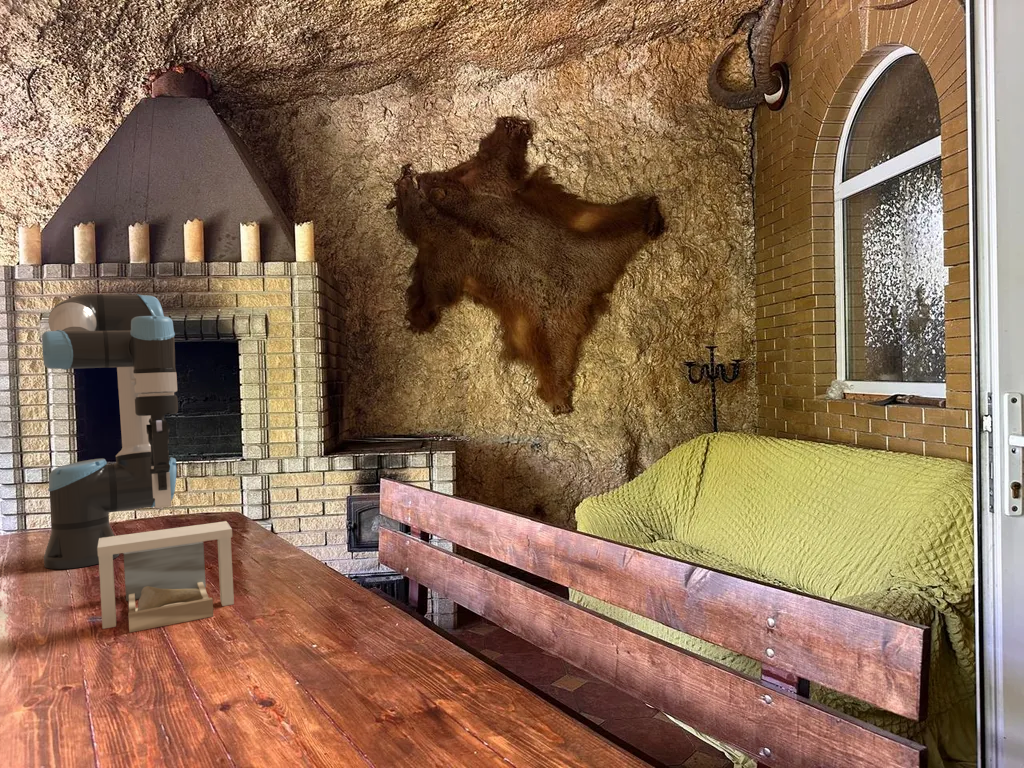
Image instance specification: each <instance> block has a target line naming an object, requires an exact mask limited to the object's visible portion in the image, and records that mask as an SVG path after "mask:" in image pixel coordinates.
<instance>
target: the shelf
mask: <svg viewBox="0 0 1024 768" xmlns="http://www.w3.org/2000/svg"><path fill="white" fill-rule="evenodd" d="M231 538H233V528H232V527H231V526H230V524H229V522H227V521H226V520H224V521H218V522H210V523H203V524H196V525H195V524H194V525H188V526H180V527H179V526H178V527H173V528H165V529H157V530H150V531H141V532H135V533H128V534H120V535H114V536H111V537H104V538H99V541H98V547H97V550H98V557H99V564H98V571H99V572H98V573H99V588H100V591H99V592H100V604H101V605H100V609H101V626H102V628H101V629H103V630H104V629H109V628H114V627H117V613H116V611H117V610H116V609H117V607H116V590H115V588H116V587H115V574H114V571H115V570H114V559H113V554H119V555H120V554H124V553H126V552H133V551H140V550H147V549H154V548H161V547H168V546H175V545H182V544H189V543H195V542H202V541H203V542H208V541H209V542H210V541H216V540H217V541H216V543H217V558H218V560H217V561H218V579H219V581H218V582H219V596H220V597H219V599H220V604H221V606H222V607H227V606H232V605H235V598H234V593H235V592H234V578H233V577H234V575H233V556H232V539H231Z"/></svg>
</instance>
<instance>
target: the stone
mask: <svg viewBox="0 0 1024 768" xmlns="http://www.w3.org/2000/svg"><path fill="white" fill-rule="evenodd" d="M201 599H203V596H202V595H201V593H200V590H199V589H160V588H155V587H149V586H146V587H144V588H143V589H142V591H141V597H140V599H138V603H137V608H138V610H137V611H140V610H146V609H151V608H157V607H162V606H164V605H168V604H173V603H181V602H190V601H195V600H201Z"/></svg>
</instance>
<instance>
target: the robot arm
mask: <svg viewBox="0 0 1024 768" xmlns="http://www.w3.org/2000/svg"><path fill="white" fill-rule="evenodd" d="M47 324H48V326H49V329H50V331H49V330H48V331H44V332H43V333H42V335H41V345H42V346H41V347H42V359H43V360H42V361H43V365H44V367H45V368H46V369H51V370H56V369H57V370H73V369H95V368H99V369H101V368H116V372H117V389H118V400H119V415H120V416H119V417H120V431H121V432H120V433H121V447H122V448H121V450H120V451H118V453H117V454H116V455H115V462H114V463H108V461H107V460H106V459H105V458H103V457H102V458H94V459H88V460H87V459H86V460H82V461H76V462H72V463H68V464H64V465H61V466H58V467H56V468H54V469H52V470H51V471H50V472H49V475H48V489H47V491H48V492H49V507H50V508H49V509H50V529H51V531H50V532H51V533H50V535H49V540H48V543H47V545H46V548H45V552H44V556H43V565H44V568H47V569H50V570H51V569H52V570H65V569H75V568H76V569H77V568H83V567H84V568H85V567H90V566H94V565H99V557H98V550H97V547H98V541H99V538H104V537H111V536H115V534H114V532H113V530H112V527H111V525H110V516H109V515H110V513H115V512H124V511H131V510H139V509H149V508H150V509H152V508H155V509H159V508H160V509H162V508H170V507H172V501H173V499H174V496H175V492H176V484H177V471H178V470H177V459H176V458H175V457H172V456H171V457H169V445H168V444H169V443H170V435H169V434H170V429H171V428H170V423H168V422H167V420H166V419H165V416H166V415H174V414H177V413H178V412H179V403H178V402H179V401H178V396H177V395H175V393H176V392H178V380H177V379H178V378H177V377H178V376H177V369H176V349H175V348H176V347H175V346H176V345H175V336H176V332H175V330H174V321H173V320H172V318H171V317H169V316H165V315H164V310H163V308H162V305H161V302H160V300H159V299H158V298H157V297H155V296H153V295H146V294H144V295H143V294H138V293H137V294H117V293H116V294H111V293H110V294H108V293H107V294H105V293H104V294H103V293H102V294H101V293H99V294H98V293H85V294H80V295H75V296H72V297H70V298H66V299H65V300H62V301H61V302H59V303H57V304H56V305H55V306H54V307H53V308H52V309H51V310H50V312H49V315H48V323H47ZM119 556H120V553H119V554H113V560H115V559H116V558H118V557H119Z"/></svg>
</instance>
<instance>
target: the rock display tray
mask: <svg viewBox="0 0 1024 768" xmlns="http://www.w3.org/2000/svg"><path fill="white" fill-rule="evenodd" d="M204 544H205V543H204V541H202V542H195V543H189V544H182V545H175V546H168V547H161V548H154V549H147V550H140V551H133V552H126V553H123V566H124V570H123V571H124V587H125V601H126V602H128V615H127V616H128V630H129V633H133V632H134V633H136V632H138V631H143V630H144V631H145V630H149V629H154V628H160V627H165V626H169V625H176V624H179V623H185V622H190V621H196V620H200V619H201V620H202V619H206V618H211V617H214V601H213V597H209V595H208V592H207V589H206V586H207V585H206V584H207V583H206V567H205V566H206V565H205V548H204V546H205V545H204ZM146 586H149V587H155V588H160V589H199V590H200V593H201V595H202V596H203V599H201V600H195V601H190V602H181V603H173V604H168V605H164V606H162V607H157V608H151V609H146V610H140V611H137V610H138V607H136V600H139V599H140V597H141V591H142V589H143V588H144V587H146Z"/></svg>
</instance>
